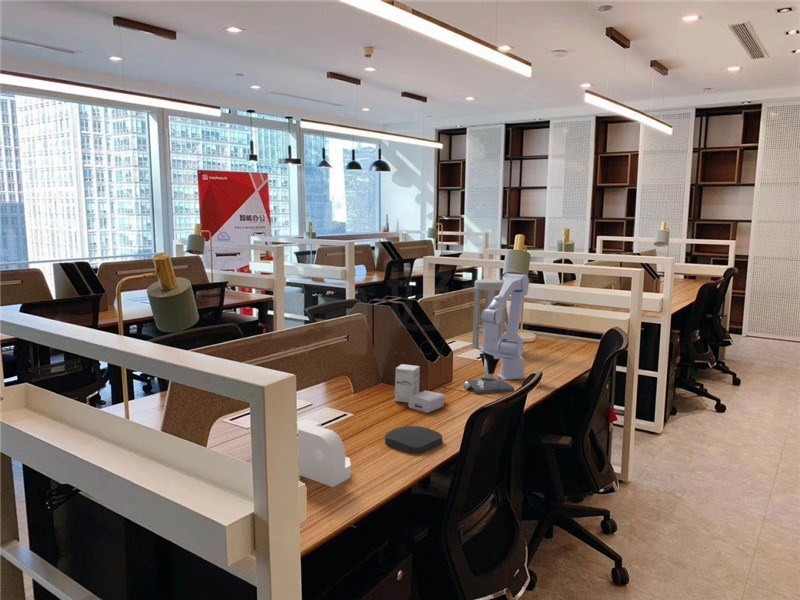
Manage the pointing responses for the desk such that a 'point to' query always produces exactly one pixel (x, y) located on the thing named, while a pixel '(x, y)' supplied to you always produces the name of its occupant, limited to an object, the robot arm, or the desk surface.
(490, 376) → the spout can
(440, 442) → the media streaming box
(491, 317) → the robot arm
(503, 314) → the stool
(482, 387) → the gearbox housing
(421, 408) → the charger
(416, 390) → the supplement box
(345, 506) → the desk surface
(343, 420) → the desk surface
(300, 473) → the tape dispenser
